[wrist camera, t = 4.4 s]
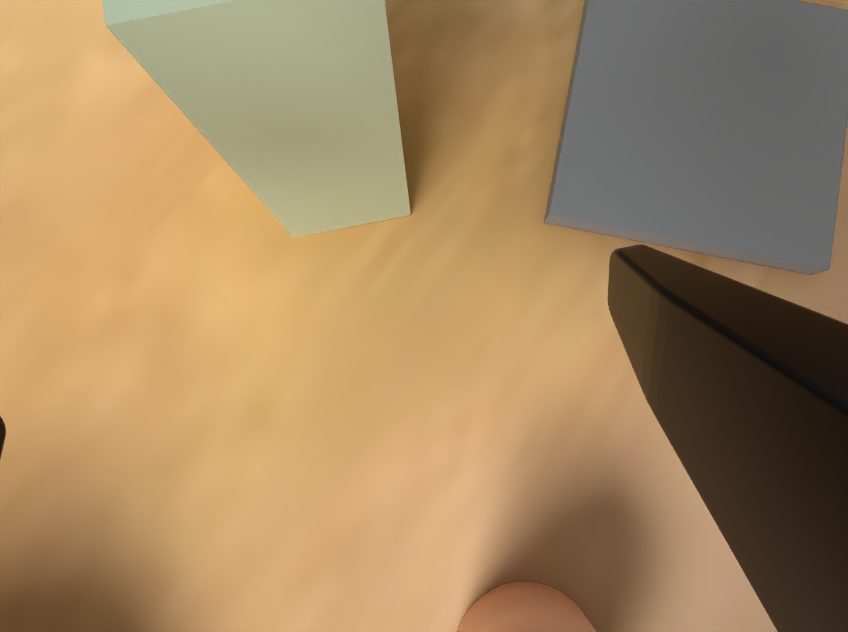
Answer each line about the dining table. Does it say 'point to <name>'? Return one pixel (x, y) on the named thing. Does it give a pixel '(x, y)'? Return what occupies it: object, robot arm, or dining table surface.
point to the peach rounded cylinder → (524, 611)
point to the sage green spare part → (283, 98)
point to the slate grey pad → (707, 128)
